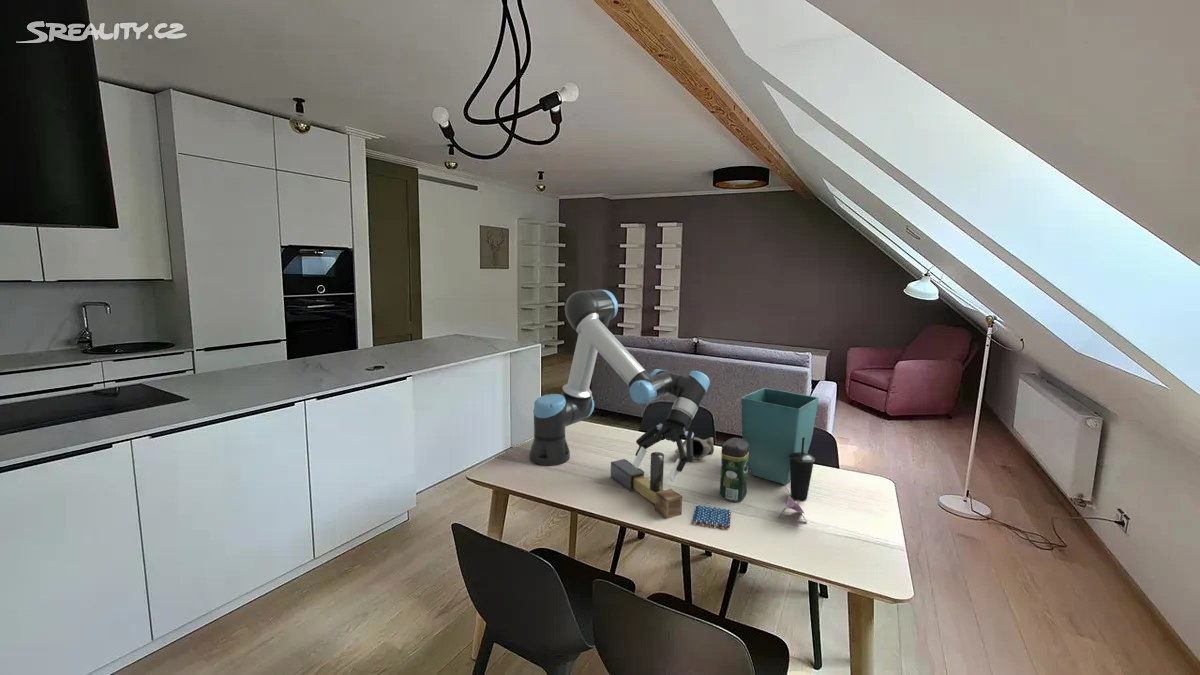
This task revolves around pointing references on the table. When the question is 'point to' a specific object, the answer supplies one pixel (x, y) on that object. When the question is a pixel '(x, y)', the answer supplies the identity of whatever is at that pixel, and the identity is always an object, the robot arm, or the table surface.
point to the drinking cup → (800, 473)
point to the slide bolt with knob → (651, 478)
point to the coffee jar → (734, 469)
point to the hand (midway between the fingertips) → (652, 473)
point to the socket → (668, 503)
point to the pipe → (699, 447)
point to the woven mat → (711, 517)
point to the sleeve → (624, 473)
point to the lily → (792, 505)
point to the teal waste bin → (776, 430)
